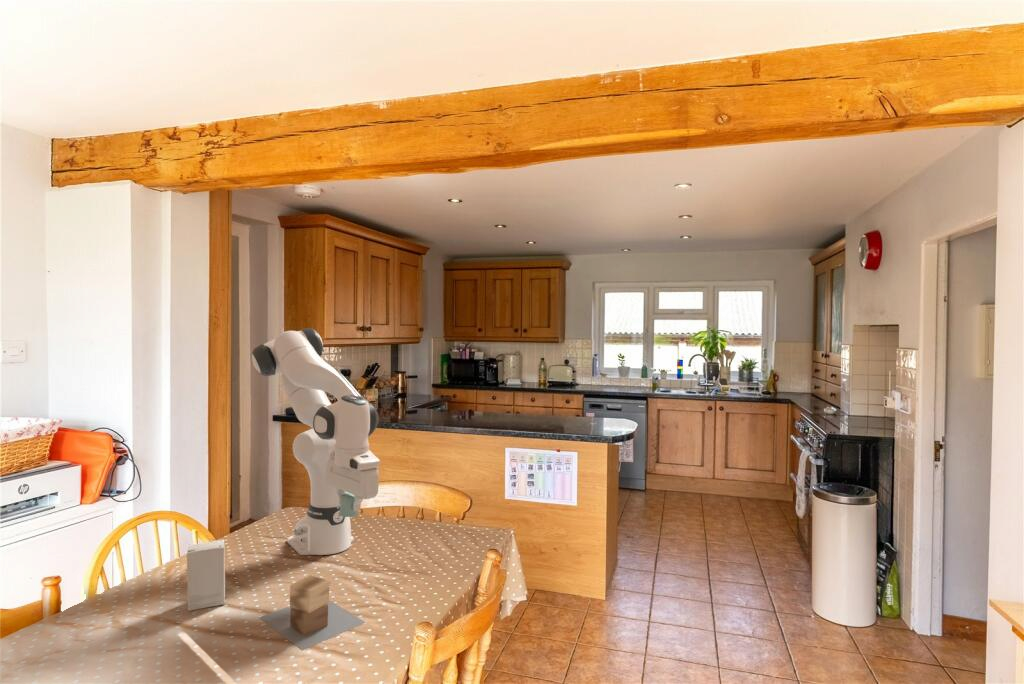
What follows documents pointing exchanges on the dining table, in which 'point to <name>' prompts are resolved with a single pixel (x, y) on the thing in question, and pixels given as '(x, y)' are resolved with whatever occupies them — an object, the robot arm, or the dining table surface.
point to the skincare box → (206, 574)
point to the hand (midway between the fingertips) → (349, 507)
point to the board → (337, 624)
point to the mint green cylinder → (347, 505)
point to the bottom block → (309, 620)
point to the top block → (309, 594)
